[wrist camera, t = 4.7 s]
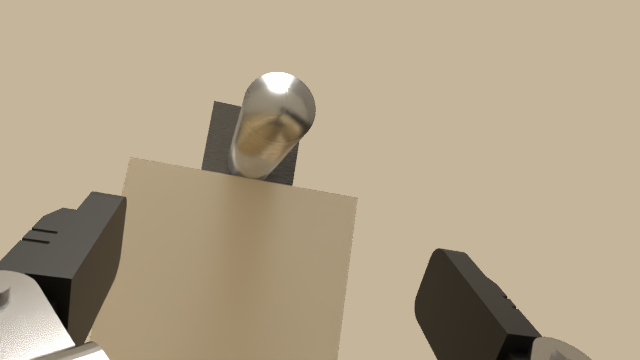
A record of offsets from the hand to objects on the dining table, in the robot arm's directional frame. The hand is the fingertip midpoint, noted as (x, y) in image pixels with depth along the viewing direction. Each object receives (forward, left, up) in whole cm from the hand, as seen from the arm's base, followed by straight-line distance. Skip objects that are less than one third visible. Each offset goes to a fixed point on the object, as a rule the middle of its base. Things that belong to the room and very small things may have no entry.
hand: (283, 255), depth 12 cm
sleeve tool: (0, -16, +4) cm, 16 cm away
